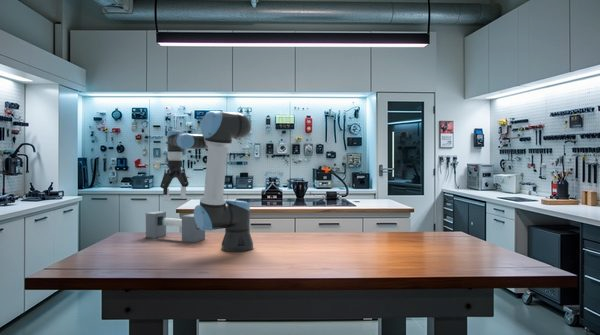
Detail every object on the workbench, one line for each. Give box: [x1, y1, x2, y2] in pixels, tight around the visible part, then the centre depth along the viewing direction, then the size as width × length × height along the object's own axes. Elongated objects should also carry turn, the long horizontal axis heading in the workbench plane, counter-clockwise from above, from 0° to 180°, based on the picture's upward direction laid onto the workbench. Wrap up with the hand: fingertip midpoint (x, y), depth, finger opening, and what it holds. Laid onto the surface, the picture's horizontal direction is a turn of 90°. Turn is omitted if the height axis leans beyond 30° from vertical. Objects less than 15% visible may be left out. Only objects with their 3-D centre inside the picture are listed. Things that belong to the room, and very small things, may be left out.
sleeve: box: [181, 213, 206, 243], centre depth 220 cm, size 8×9×13 cm
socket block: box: [145, 210, 167, 239], centre depth 230 cm, size 6×9×13 cm, turn 157°
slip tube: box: [162, 216, 198, 228], centre depth 222 cm, size 25×4×4 cm, turn 67°
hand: (175, 199), depth 224 cm, fingers open, 13 cm apart
